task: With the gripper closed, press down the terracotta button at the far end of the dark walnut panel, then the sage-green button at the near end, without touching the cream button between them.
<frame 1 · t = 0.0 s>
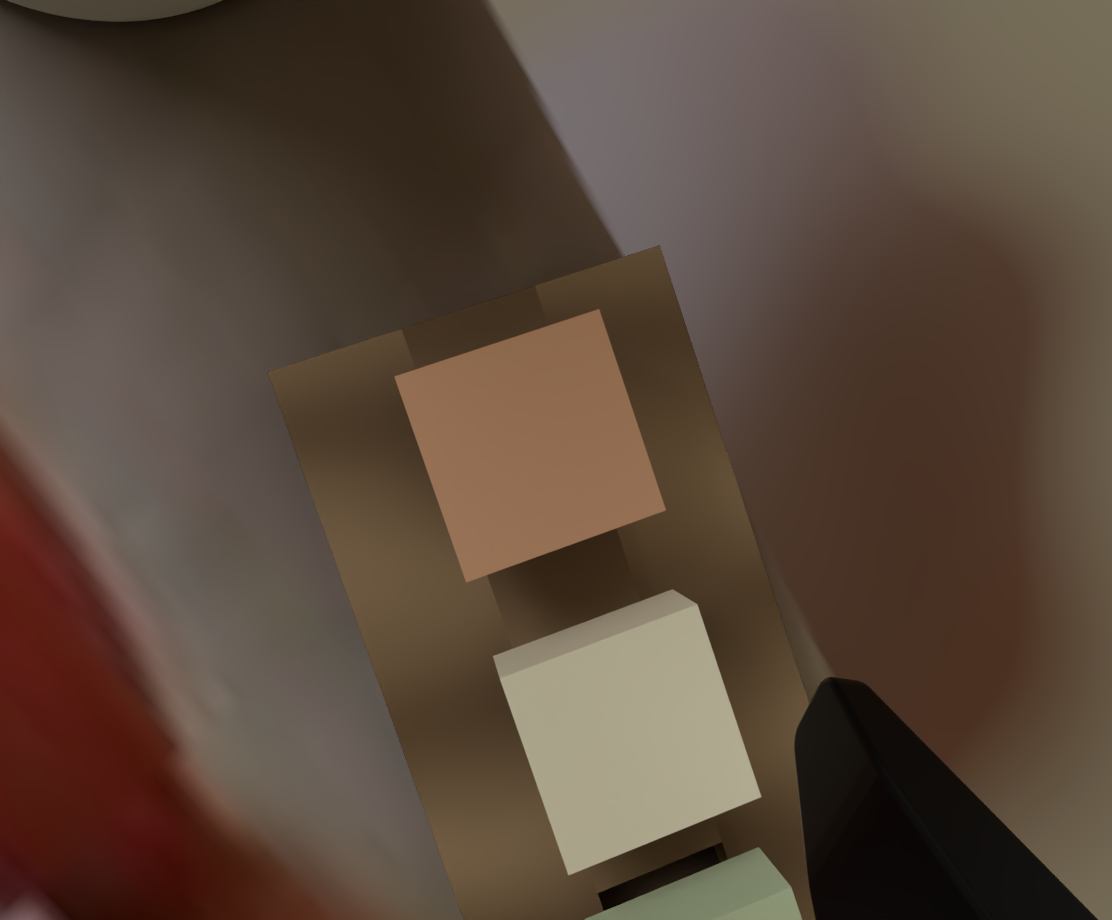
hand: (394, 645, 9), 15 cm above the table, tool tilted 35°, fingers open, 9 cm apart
terracotta button: (524, 444, 21), point 4 cm above the table, slide at 0.0 cm
cream button: (616, 714, 21), point 4 cm above the table, slide at 0.0 cm
walnut panel: (589, 675, 25), on the table
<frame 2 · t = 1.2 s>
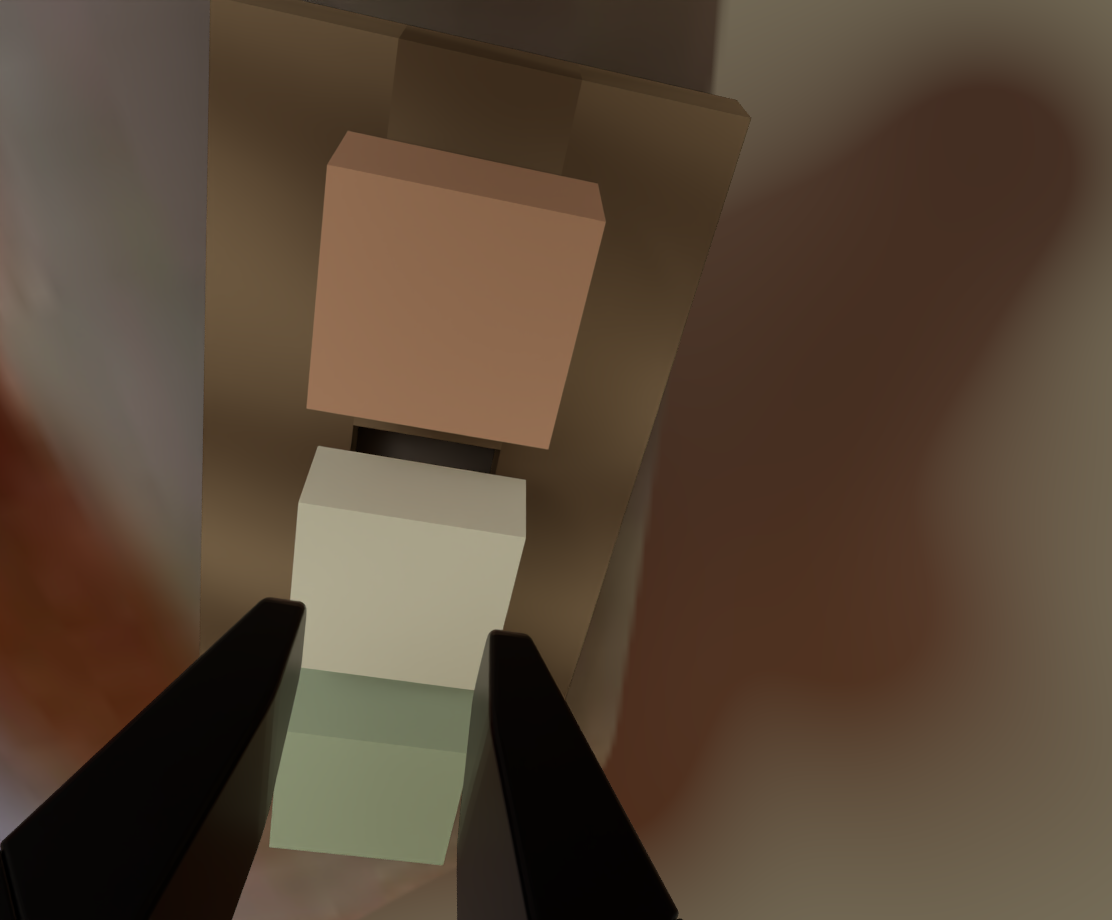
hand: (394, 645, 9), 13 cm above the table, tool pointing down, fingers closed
sage button: (376, 744, 24), point 4 cm above the table, slide at 0.0 cm
terracotta button: (454, 279, 17), point 4 cm above the table, slide at 0.0 cm
cream button: (408, 550, 21), point 4 cm above the table, slide at 0.0 cm
walnut panel: (423, 462, 24), on the table
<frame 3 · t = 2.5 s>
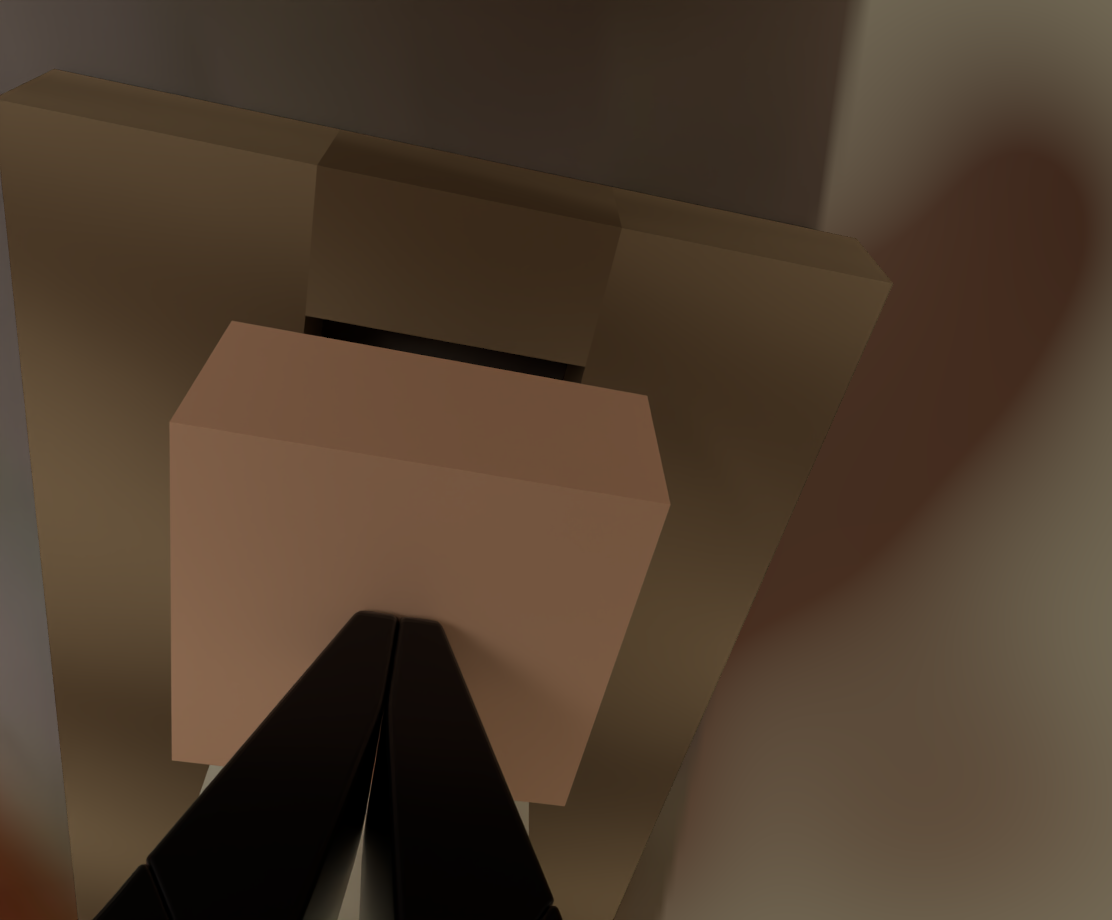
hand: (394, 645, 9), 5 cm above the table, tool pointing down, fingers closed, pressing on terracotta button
terracotta button: (415, 536, 11), point 3 cm above the table, slide at 0.4 cm, touching gripper
cream button: (354, 890, 14), point 4 cm above the table, slide at 0.0 cm
walnut panel: (384, 707, 17), on the table
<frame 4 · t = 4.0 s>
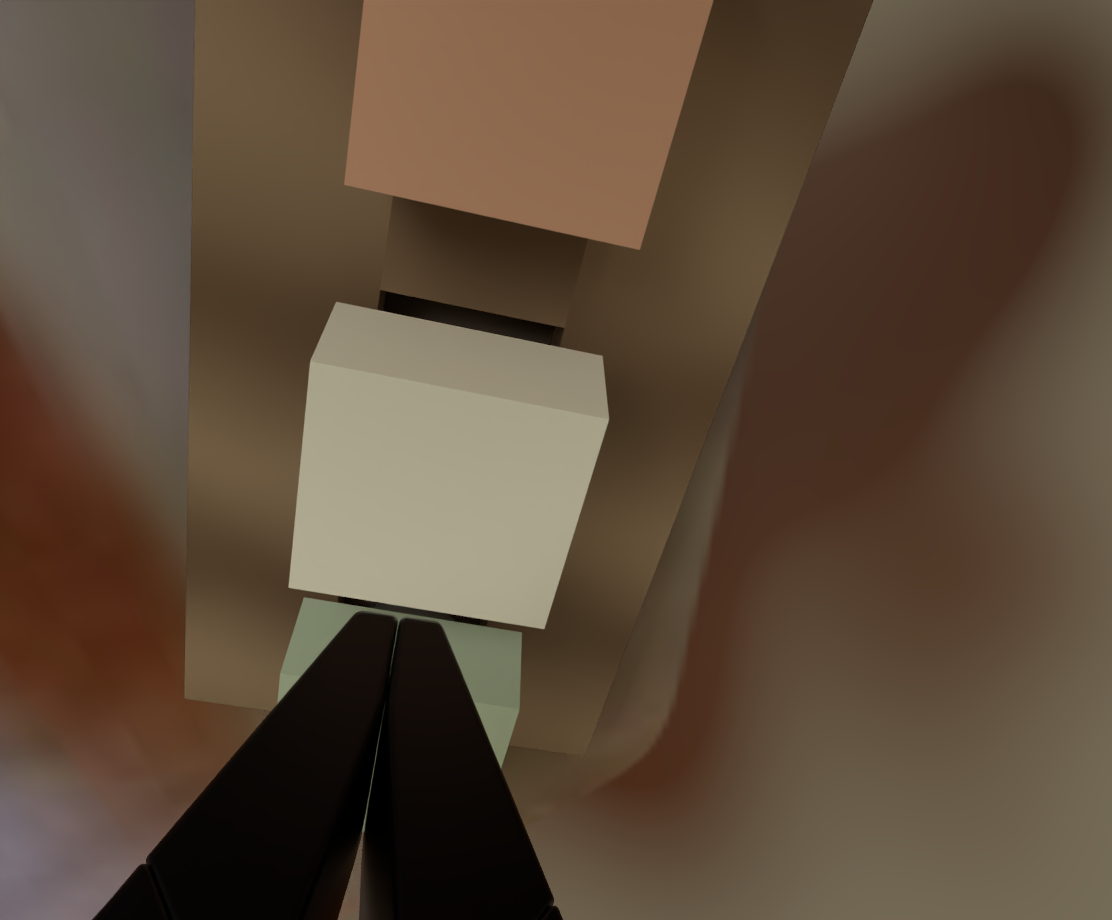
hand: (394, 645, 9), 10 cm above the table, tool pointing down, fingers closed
sage button: (398, 698, 20), point 4 cm above the table, slide at 0.0 cm
terracotta button: (528, 37, 14), point 2 cm above the table, slide at 1.5 cm
cream button: (448, 447, 16), point 4 cm above the table, slide at 0.0 cm
walnut panel: (463, 352, 19), on the table
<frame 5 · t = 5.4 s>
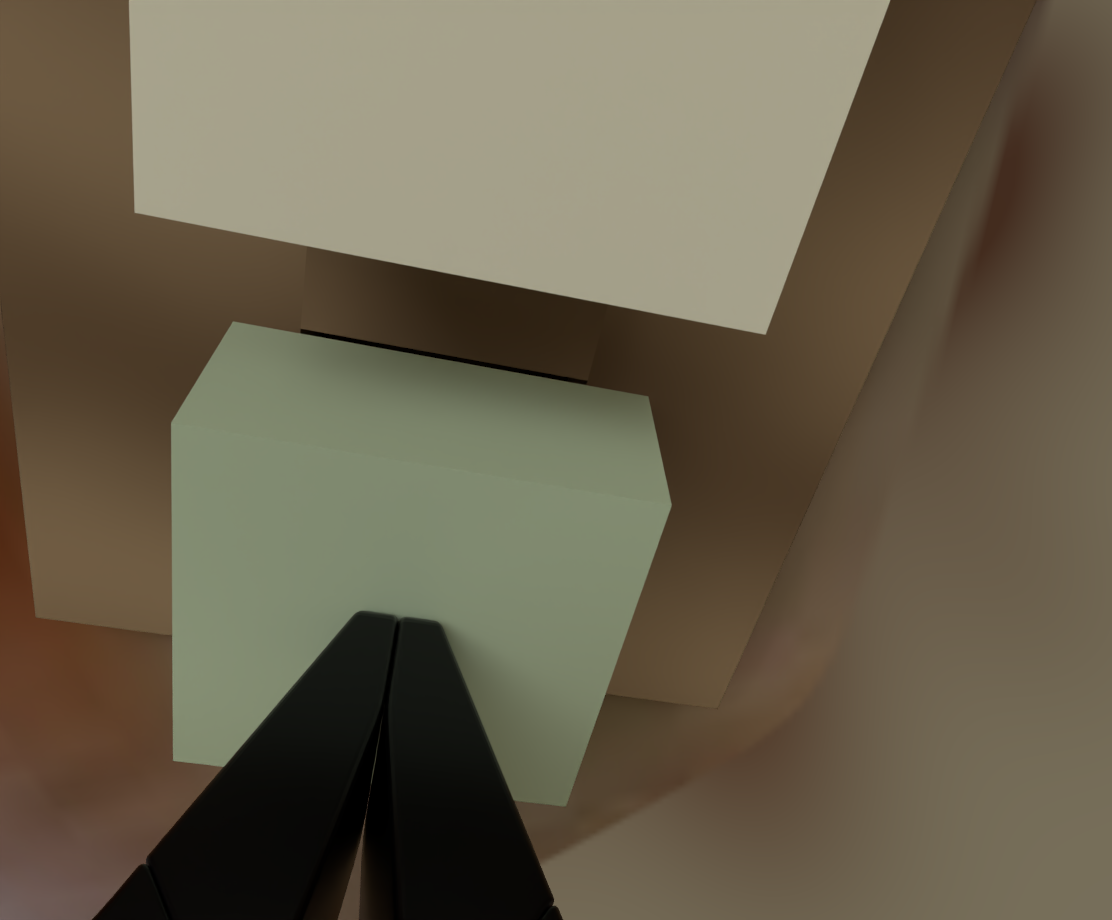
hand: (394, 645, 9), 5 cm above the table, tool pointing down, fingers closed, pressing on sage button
sage button: (416, 536, 11), point 3 cm above the table, slide at 0.7 cm, touching gripper
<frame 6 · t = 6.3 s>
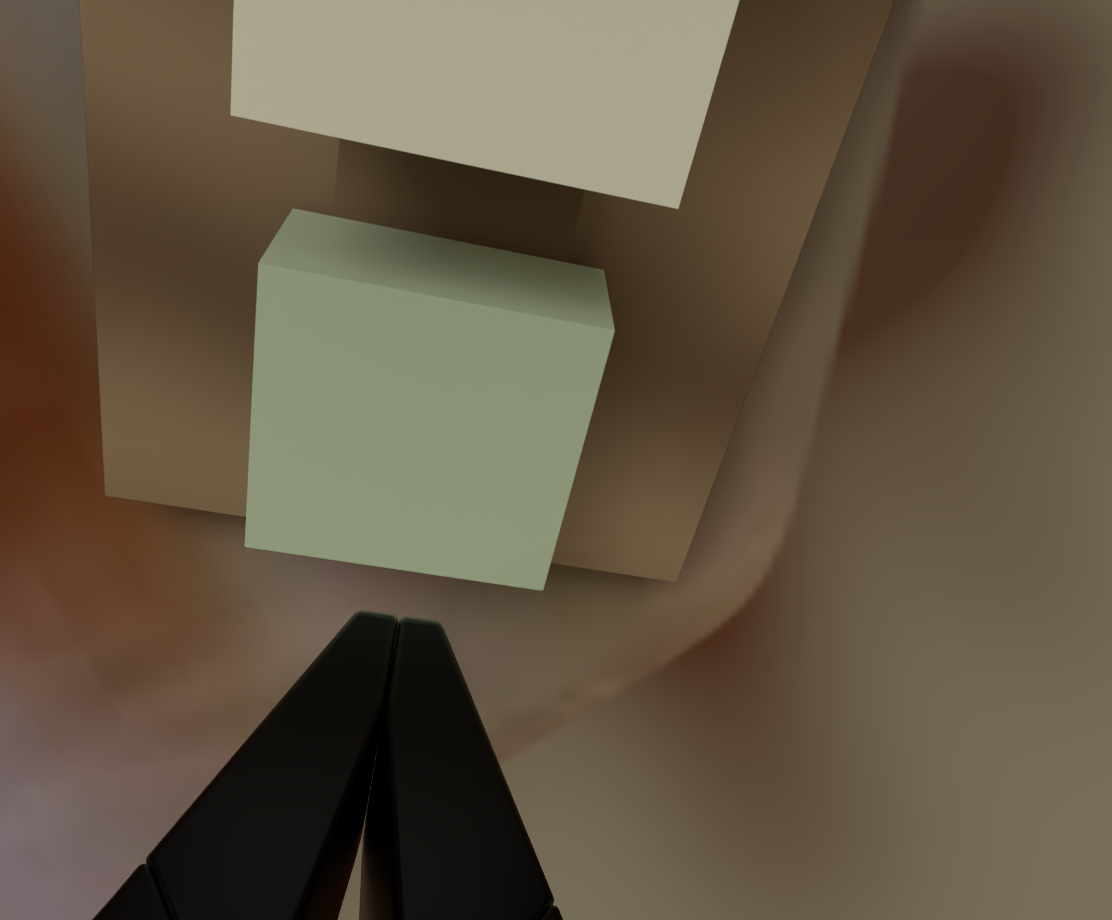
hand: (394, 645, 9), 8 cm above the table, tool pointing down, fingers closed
sage button: (428, 383, 14), point 2 cm above the table, slide at 1.5 cm
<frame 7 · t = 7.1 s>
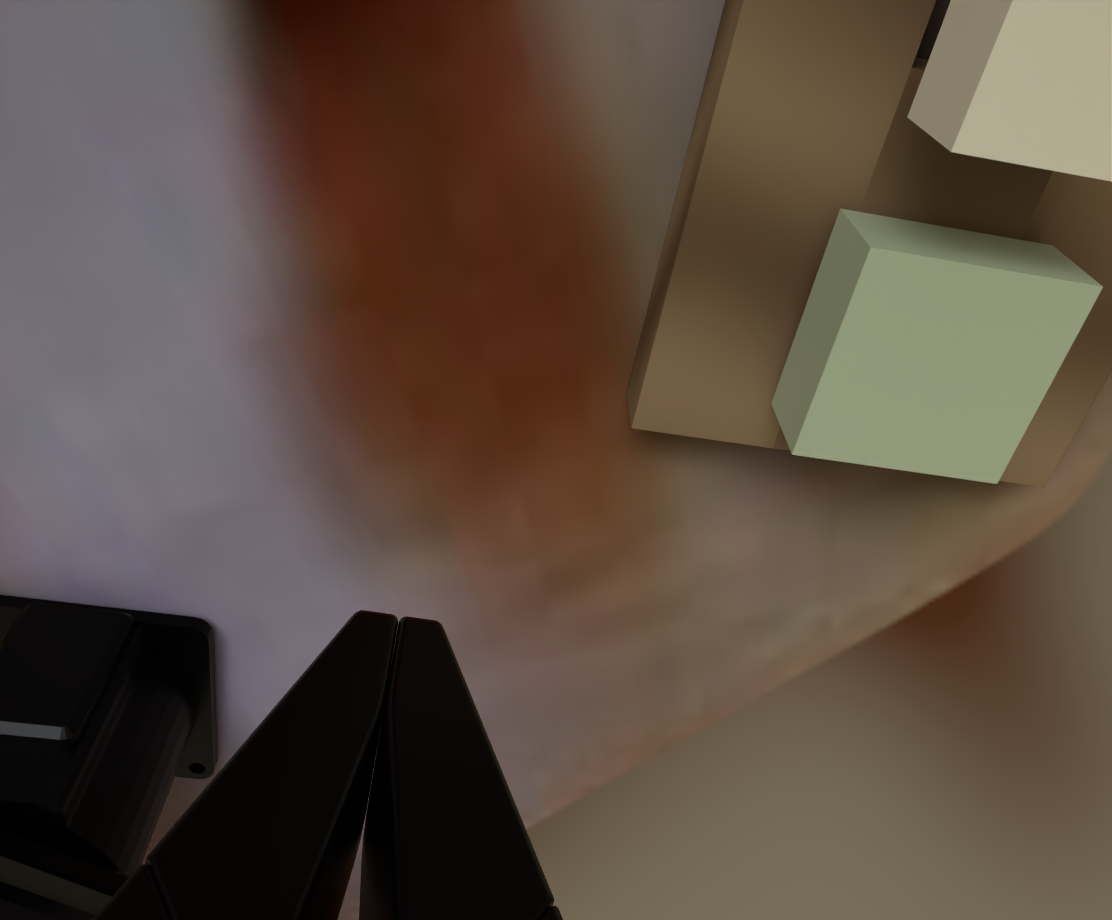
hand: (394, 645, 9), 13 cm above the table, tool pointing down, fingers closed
sage button: (908, 333, 19), point 2 cm above the table, slide at 1.5 cm
cream button: (1101, 1, 14), point 4 cm above the table, slide at 0.0 cm
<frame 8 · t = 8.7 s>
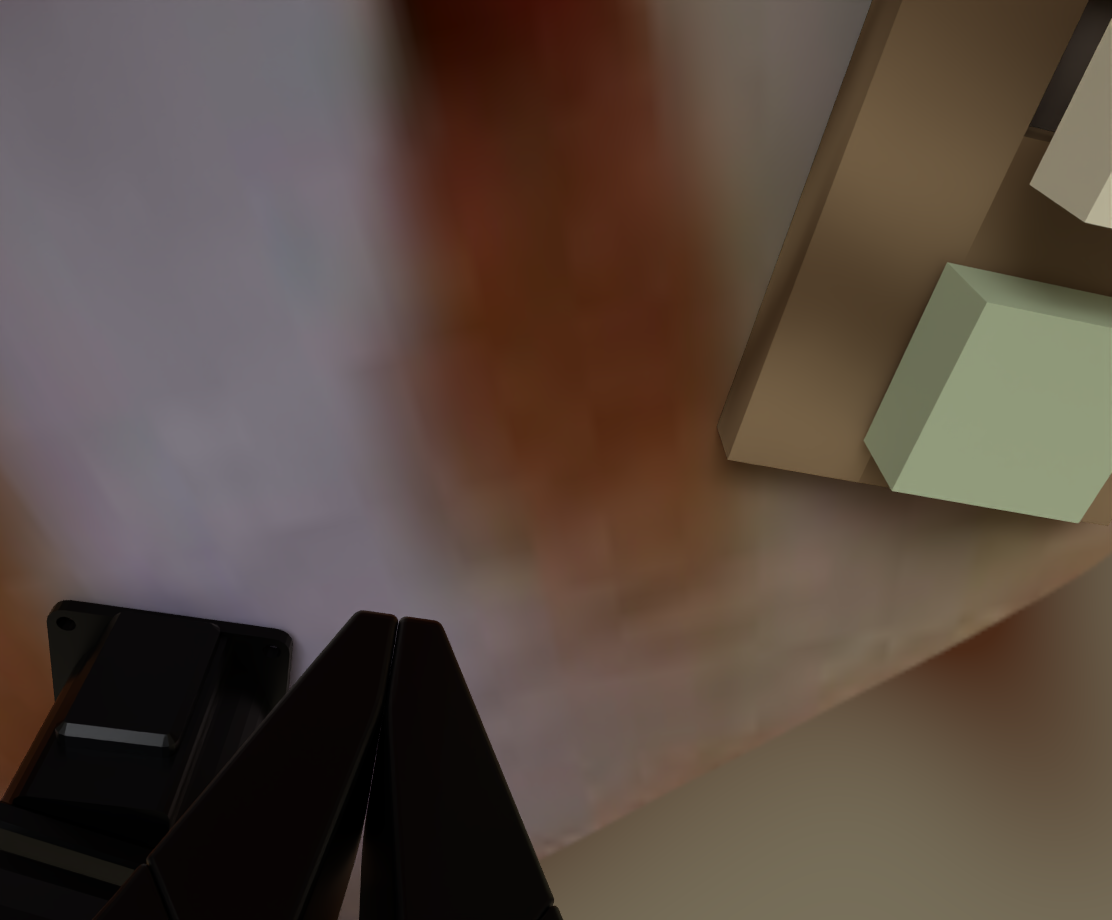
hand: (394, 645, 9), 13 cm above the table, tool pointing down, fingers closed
sage button: (1000, 380, 21), point 2 cm above the table, slide at 1.5 cm
walnut panel: (1108, 49, 19), on the table
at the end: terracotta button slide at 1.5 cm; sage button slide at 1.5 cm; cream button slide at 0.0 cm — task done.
